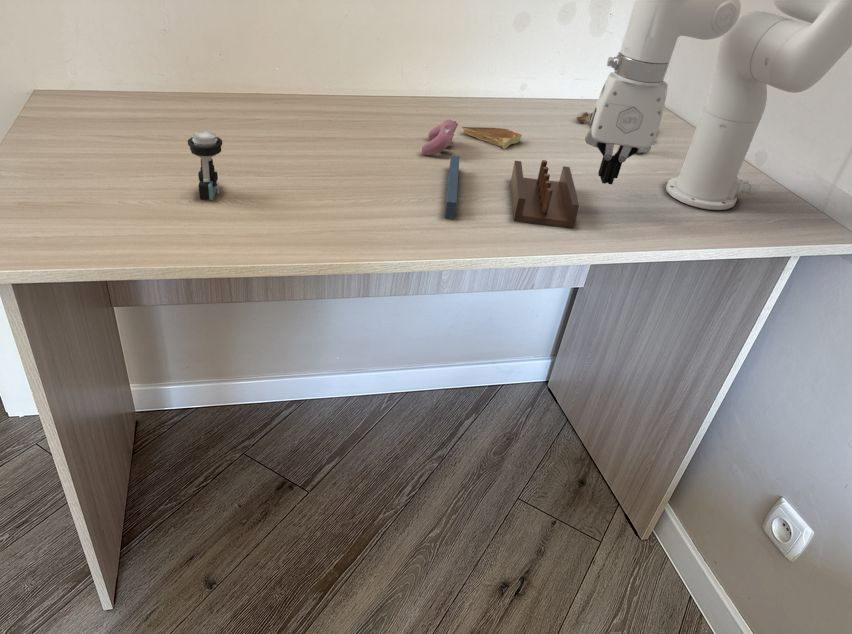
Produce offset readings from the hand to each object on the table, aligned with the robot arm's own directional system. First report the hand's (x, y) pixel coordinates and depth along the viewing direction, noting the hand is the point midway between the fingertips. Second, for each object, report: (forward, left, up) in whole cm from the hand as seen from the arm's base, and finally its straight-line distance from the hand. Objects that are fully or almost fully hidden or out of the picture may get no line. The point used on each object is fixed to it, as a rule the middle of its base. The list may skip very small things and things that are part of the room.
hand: (606, 180), depth 117 cm
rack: (+10, 0, -6) cm, 12 cm away
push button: (+66, +11, -6) cm, 67 cm away
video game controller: (+29, -20, -6) cm, 36 cm away
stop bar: (+26, 0, -6) cm, 26 cm away
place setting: (-9, -42, -6) cm, 44 cm away
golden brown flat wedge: (+18, -28, -6) cm, 34 cm away
